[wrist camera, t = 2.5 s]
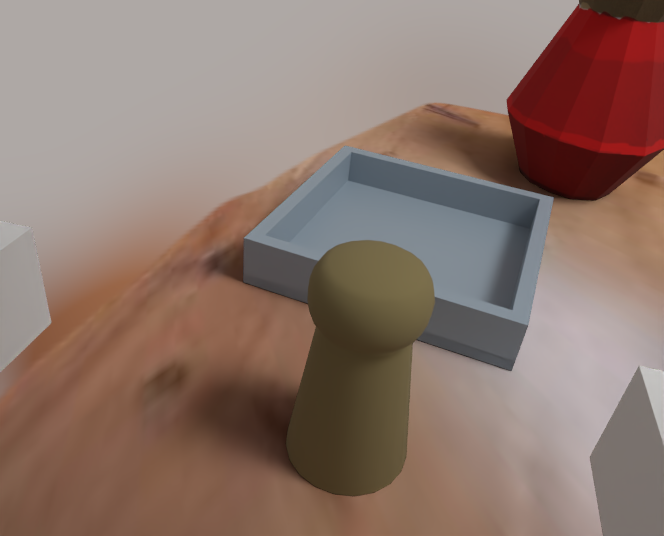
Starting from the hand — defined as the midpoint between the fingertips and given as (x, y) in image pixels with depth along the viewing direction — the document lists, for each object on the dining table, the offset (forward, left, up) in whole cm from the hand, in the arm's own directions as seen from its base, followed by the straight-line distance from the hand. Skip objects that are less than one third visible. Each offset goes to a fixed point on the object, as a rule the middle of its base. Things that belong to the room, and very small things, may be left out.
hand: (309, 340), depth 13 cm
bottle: (-41, -30, -15) cm, 53 cm away
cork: (-6, -8, -15) cm, 18 cm away
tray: (-18, -22, -15) cm, 32 cm away
